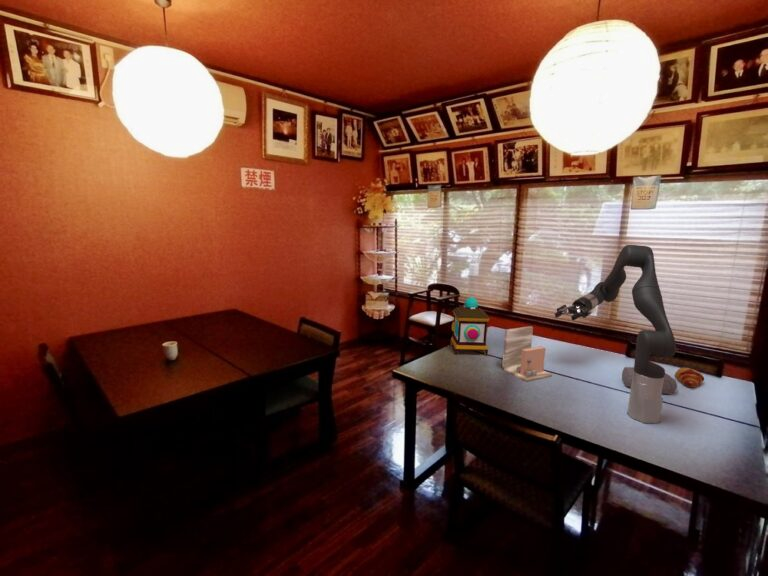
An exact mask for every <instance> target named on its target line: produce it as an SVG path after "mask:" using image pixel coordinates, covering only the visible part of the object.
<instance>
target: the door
mask: <svg viewBox="0 0 768 576" xmlns="http://www.w3.org/2000/svg"><path fill="white" fill-rule="evenodd" d="M545 359H546V347H544V346H542V345H541V346H535V347H531V348H528V349H522V357H521V368H520V374H521V375H523V376H525V371H530V370H536V371H537V373H541V372H543V370H544V366H545Z"/></svg>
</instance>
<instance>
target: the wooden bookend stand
mask: <svg viewBox="0 0 768 576" xmlns="http://www.w3.org/2000/svg"><path fill="white" fill-rule="evenodd" d="M504 330H505V331H504V341H503V342H504V343H503V353H502V354H503V355H502V367H501V369H502V371H503V370H504V371H505V372H507V373H509V374H510V375H512V376H514V377H516V378H518V379H519V380H521V381H523V382H524V383H525V382H526V383H528V382H532V381H537V380H538V381H539V380H542V379H547V378H551V377H553V374H552V373H550V372H547V371H545V370H544V369H543V372H541V373H537V371H536V370H530V371H525V376H523V375H521V374H520V368H521V357H522V349H528V348H532V342H533V341H532V340H533V332H534V327H533V326H522V327H515V328H508V329H504Z"/></svg>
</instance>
